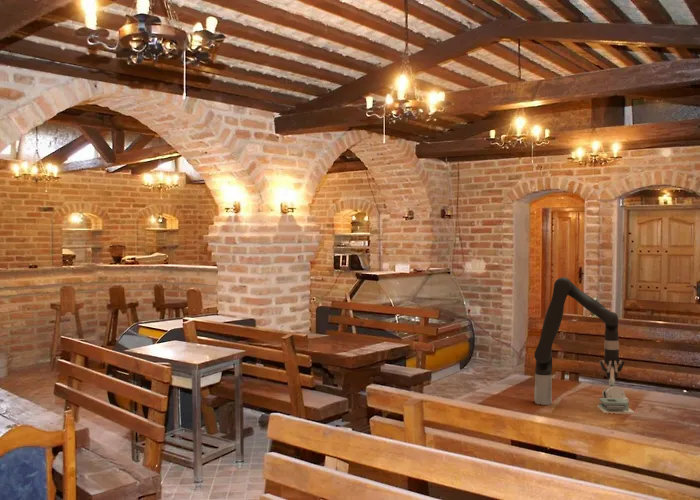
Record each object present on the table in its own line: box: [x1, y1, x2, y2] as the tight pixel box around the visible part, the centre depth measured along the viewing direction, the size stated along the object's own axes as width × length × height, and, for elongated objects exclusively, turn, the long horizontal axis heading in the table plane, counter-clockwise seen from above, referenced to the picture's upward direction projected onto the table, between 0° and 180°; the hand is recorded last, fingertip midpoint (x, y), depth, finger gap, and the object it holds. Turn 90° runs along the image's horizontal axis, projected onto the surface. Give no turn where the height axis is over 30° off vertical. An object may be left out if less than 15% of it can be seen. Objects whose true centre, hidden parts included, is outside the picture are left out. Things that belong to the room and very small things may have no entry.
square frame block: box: [596, 397, 635, 415], centre depth 355 cm, size 16×13×5 cm
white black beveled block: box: [601, 386, 630, 403], centre depth 373 cm, size 17×5×10 cm, turn 121°
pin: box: [608, 366, 616, 387], centre depth 356 cm, size 3×3×11 cm
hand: (611, 378), depth 357 cm, fingers closed on pin, 3 cm apart
